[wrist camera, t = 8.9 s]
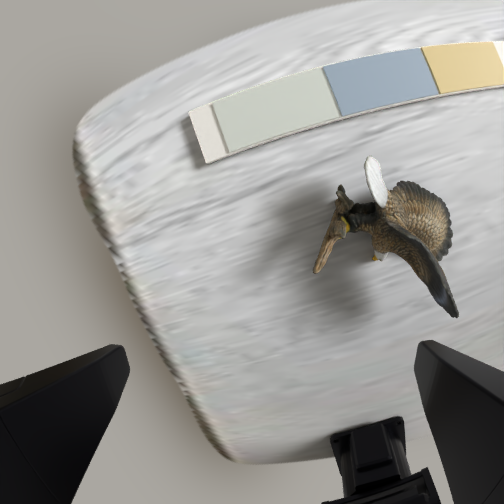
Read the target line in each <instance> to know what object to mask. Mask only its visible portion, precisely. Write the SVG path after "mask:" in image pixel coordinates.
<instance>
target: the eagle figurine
mask: <svg viewBox="0 0 504 504" xmlns="http://www.w3.org/2000/svg"><path fill="white" fill-rule="evenodd" d="M364 169H365V174H366V181H367V185H368V187H369V190H370V192H371V194H372V197H373V199H374V200H375V203H373V202H371V203H366V204H359V203H356V204H355V205H354V202H353V201H352V200H350V199H349V198H348V197H347V196H346V194H345V190H344V187H343V186H342V185H339V187H338V191H337V192H336V194H337V196H338V199H336V201H335V205H336V210H335V212H334V214H333V217H332V220H331V223H330V226H329V228H328V230H327V232H326V235H325V237H324V240H323V243H322V246H321V249H320V252H319V255H318V258H317V260H316V262H315V266H314V269H313V273H314V274H316V273H318V272H320V271H321V269H322V268H323V266H324V265H325V263H326V261H327V259H328V256H329V254H330V253H331V251H332V247H333V245H334V243H335V242H336V241H337V240H339V239H341V238H342V239H344V238H345V237H346V233H347V232H352V233H356V232H358V231H364V232H367V233H369V234H371V235H372V245H373V247H374V251H375V255H374V257H373V258H372V259H373V260H374V261H376V260H380V261H383V260H384V259H385V258H386V257H387V255H388V253H389V252H393V253H395V254H397V255H398V256H400V257H402V258H403V259H404V260H405V261H406V262H407V263H408V264H409V265H410V266H411V267H412V268H413V270H414V272H415V273H416V274H417V276H418V277H419V278H420V279H421V280H422V281H423V282H424V283H425V284H426V286H427V287H428V290H429V291H430V293H431V295H432V296H433V298H434V299H435V301H436V302H437V303H438V304H439V305H440V306H441V307H443V308H444V309H445V310H446V311H447V313H449V314H450V315H451V317H453V318H454V317H456V318H458V317H459V312H458V310H457V306H456V304H455V301H454V299H453V295H452V293H451V291H450V288H449V285H448V282H447V279H446V276H445V274H444V272H443V270H442V268H441V266H440V265H439V263H438V261H441V260H442V257H443V256H445V255H447V254H448V249H449V248H451V246H452V242H451V238H452V237H453V232H452V230H451V229H450V226H451V223H452V222H451V220H450V219H449V217H450V213H449V212H448V208H447V207H446V204H445V203H444V202H443V201H442V199H441V198H440V197H439V198H438V197H437V196H436V195H435V194H434V193H430V191H428V190H426V189H425V188H421V187H420V186H419V185H418V184H416V183H414V182H410V181H407V182H405V181H400V182H398V183H397V186H395V187H394V188H393V190H390V191H389V190H388V189H387V188H386V186H385V184H384V182H383V180H382V174H381V167H380V164H379V162H378V161H377V160H375V159H374V158H373V157H372V156H369V157H367V159H366V161H365V164H364Z"/></svg>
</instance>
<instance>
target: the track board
mask: <svg viewBox="0 0 504 504" xmlns="http://www.w3.org/2000/svg"><path fill="white" fill-rule="evenodd" d="M501 87H504V41H489V42H466V43H453V44H442V45H432V46H424V47H416V48H409V49H402V50H396V51H390V52H384V53H379V54H373V55H368V56H363V57H358V58H354V59H349V60H345V61H340V62H336V63H332V64H328V65H324V66H320V67H316V68H313V69H309V70H305V71H302V72H298V73H295V74H291V75H288V76H285V77H282V78H278V79H275V80H272V81H269V82H266V83H263V84H260V85H257V86H254V87H251V88H248V89H245V90H242V91H240V92H237V93H234V94H231V95H229V96H226V97H223V98H221V99H218V100H216V101H213V102H211V103H208V104H206V105H203V106H201V107H198V108H196V109H194V110H191V111H189V112H188V113H189V115H190V118H191V121H192V124H193V127H194V130H195V133H196V136H197V139H198V141H199V144H200V147H201V150H202V153H203V156H204V159H205V162H206V163H209V164H210V163H212V162H215V161H217V160H220V159H223V158H225V157H228V156H231V155H234V154H236V153H239V152H242V151H245V150H248V149H250V148H253V147H256V146H259V145H262V144H265V143H268V142H271V141H274V140H277V139H280V138H283V137H286V136H289V135H293V134H296V133H299V132H302V131H305V130H309V129H312V128H315V127H319V126H322V125H326V124H329V123H333V122H336V121H340V120H343V119H347V118H351V117H355V116H358V115H362V114H366V113H370V112H374V111H378V110H382V109H386V108H391V107H395V106H399V105H404V104H408V103H413V102H418V101H423V100H428V99H433V98H438V97H443V96H449V95H454V94H460V93H466V92H472V91H479V90H486V89H493V88H501Z"/></svg>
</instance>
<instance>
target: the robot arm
mask: <svg viewBox="0 0 504 504" xmlns="http://www.w3.org/2000/svg"><path fill="white" fill-rule="evenodd" d="M414 372H415V376H416V380H417V384H418V388H419V392H420V396H421V400H422V404H423V408H424V412H425V415H426V418H427V421H428V423H429V426H430V429H431V432H432V435H433V437H434V440H435V443H436V446H437V449H438V452H439V455H440V458H441V461H442V464H443V468H444V471H445V474H446V477H447V481H448V484H449V487H450V491H451V494H452V498H453V501H454V504H504V372H503V371H501V370H499V369H496V368H494V367H492V366H490V365H487V364H485V363H483V362H481V361H478V360H476V359H474V358H472V357H469V356H467V355H465V354H463V353H460V352H458V351H456V350H454V349H451V348H449V347H447V346H445V345H442V344H440V343H438V342H436V341H433V340H427V341H421V342H420V343H419V345H418V348H417V353H416V359H415V364H414ZM129 373H130V366H129V363H128V359H127V356H126V352H125V349H124V347H123V346H122V345H115V344H111V345H108V346H105V347H103V348H100V349H97V350H95V351H92V352H89V353H87V354H84V355H81V356H79V357H76V358H73V359H71V360H68V361H65V362H63V363H60V364H57V365H55V366H52V367H49V368H46V369H44V370H41V371H38V372H35V373H32V374H30V375H27V376H26V377H21V378H18V379H15V380H13V381H9V382H6V383H3V384H0V504H71V503H72V501H73V499H74V496H75V494H76V492H77V490H78V488H79V485H80V483H81V481H82V479H83V477H84V474H85V473H86V470H87V468H88V466H89V464H90V462H91V460H92V458H93V456H94V453H95V451H96V449H97V447H98V445H99V443H100V441H101V439H102V437H103V435H104V433H105V431H106V429H107V427H108V425H109V423H110V421H111V419H112V417H113V415H114V413H115V410H116V408H117V406H118V403H119V400H120V398H121V395H122V392H123V389H124V387H125V384H126V382H127V379H128V376H129ZM335 439H337V440H335ZM330 442H331V446H332V449H333V452H334V455H335V458H336V462H337V465H338V468H339V471H340V474H341V476H342V481H343V492H344V498H341V499H338V500H334V501H330V502H329V501H326V502H322V503H321V504H441V502H440V499H439V496H438V493H437V491H436V488H435V485H434V483H433V480H432V477H431V475H430V472H429V470H428V468H424V469H422V470H421V471H420V472H417V473H415V474H413V475H411V472H410V469H409V465H408V462H407V458H406V444H405V428H404V420H403V418H402V417H400V416H399V417H395V418H392V419H389V420H386V421H383V422H379V423H376V424H373V425H369V426H366V427H362V428H359V429H355V430H351V431H347V432H343V433H339V434H335V435H333V436H331V438H330Z"/></svg>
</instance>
